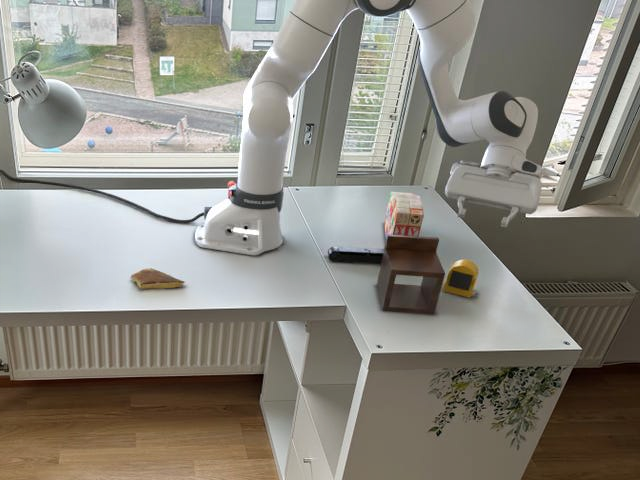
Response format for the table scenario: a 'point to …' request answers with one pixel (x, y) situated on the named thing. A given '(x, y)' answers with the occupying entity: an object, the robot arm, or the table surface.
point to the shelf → (410, 274)
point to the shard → (155, 279)
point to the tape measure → (462, 278)
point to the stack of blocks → (404, 214)
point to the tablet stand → (355, 255)
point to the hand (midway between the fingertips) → (482, 221)
